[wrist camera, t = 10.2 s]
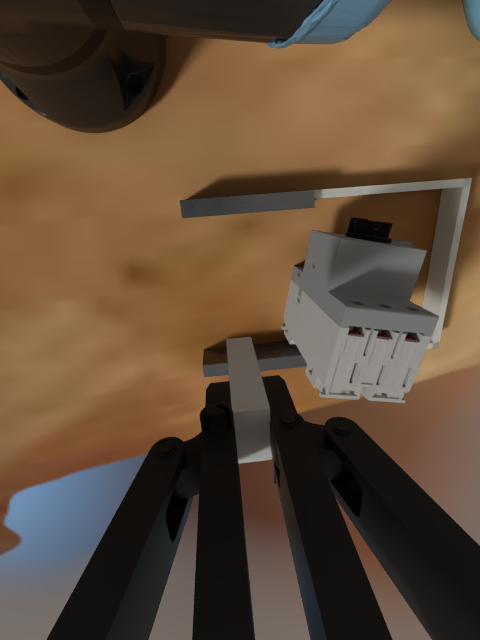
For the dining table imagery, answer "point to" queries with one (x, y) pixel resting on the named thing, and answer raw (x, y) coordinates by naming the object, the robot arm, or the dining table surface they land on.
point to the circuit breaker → (359, 313)
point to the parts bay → (444, 237)
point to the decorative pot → (473, 16)
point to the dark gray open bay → (269, 353)
